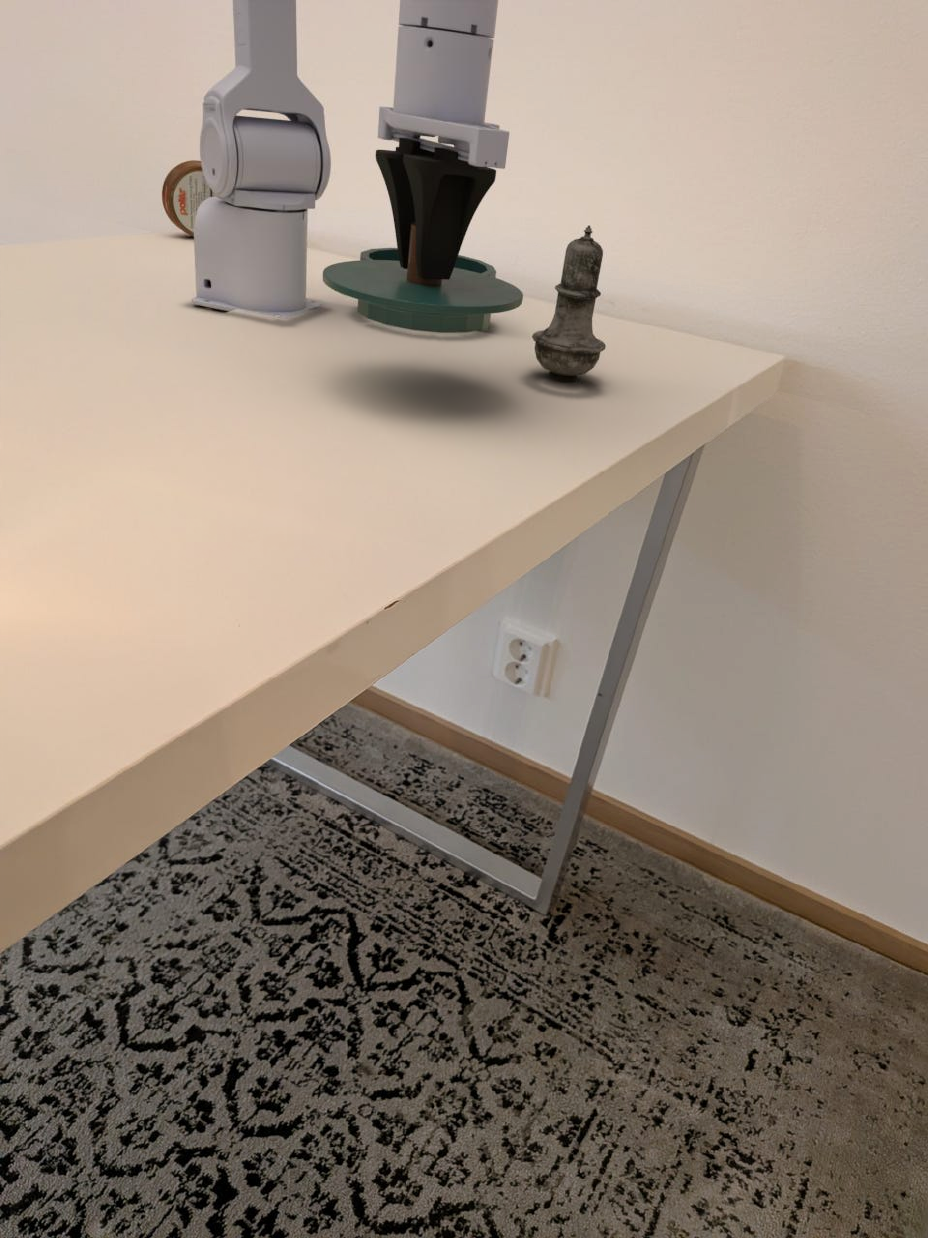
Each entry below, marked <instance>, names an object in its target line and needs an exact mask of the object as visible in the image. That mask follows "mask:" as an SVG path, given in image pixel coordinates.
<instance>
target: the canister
mask: <svg viewBox="0 0 928 1238" xmlns="http://www.w3.org/2000/svg"><path fill="white" fill-rule="evenodd" d="M359 260H391V261H399V255H398V248H397V247H378V248H370V249H367V250H363V251H361V252H360V256H359ZM454 268H458V269H463V270H468V271H473V272H477V273H481V274H485V275H488V276H491V277H495V278H497V270H496V269H495V267H494V266H493V265H491V264H489V263H488V262H484V261H483V260H481V259H476V258H472V257H468V256H466V255H465V256H464V255H461V254H458V257H457V260H456V263H455V266H454ZM357 312H358V313H359V314H360V315H362V316H364V317H365V318H366V319H369V320H371V321H375V322H377V323H380V324H383V325H387V326H390V327H391V326H392V327H397V328H402V329H407V330H411V331H420V332H429V333H430V332H431V333H441V334H445V333H446V334H447V333H448V334H449V333H469V332H480V333H487V331H488V330H489V327H490V324H491V316H492V314H479V315H472V316H433V315H423V314H414V313H408V312H402V311H396V310H392V309H387V308H383V307H379V306H376V305H373V304H370V303H367V302H365V301H362V300H359V299H357Z"/></svg>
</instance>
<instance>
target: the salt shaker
mask: <svg viewBox="0 0 928 1238" xmlns="http://www.w3.org/2000/svg"><path fill="white" fill-rule="evenodd" d="M592 230H593V229H592V227H591V225H587V226H586V227H585V229H583V232H584V235H582V236H581V237H579V238H576V239H573V240H572V241H570V242H569V243H568V244H567V247H566V248H565V254H564V261H563V266H562V271H561V279H560V283H557V284H556V285H554V290H555V291H556V292H557V296H556V303H555V310H554V314H553V317H552V319H551V321H550V324H549V326H548V327H546V328H545V329H542V330H538V331H535V332H534V333H533V334H532V335H531V338H532V340H533V341H534V348H533V349H534V354H535V357H536V360H537V362H538V363H539V365H540V366H541V367H542V368H543V369H544V370H547V371H548V378H549V379H551V380H553V381H556V382H560V383H575V382H576V381H577V380H578V376H583V375H586V374H587V373H588V372H590V371H591V370H593V369H594V368H595V366H597V363H598V362H599V360H600V356H601V353H602V352H603V351H605V350H606V347H607V346H606V344H605V342H604V341H603V340H601V339H599V338H596V336H595V334H594V330H593V317H594V311H595V306H596V299H597V298H599V297H601V295H602V294H601V293H602V292H601V291H600V290H598V284H599V278H600V273H601V268H602V263H603V258H604V250H603V247H602V246H601V244H600V243H599V242H597V241H595V239H594V238H593V237H591V236H592V235H591V234H592V233H593V231H592Z"/></svg>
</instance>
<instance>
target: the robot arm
mask: <svg viewBox="0 0 928 1238" xmlns="http://www.w3.org/2000/svg"><path fill="white" fill-rule="evenodd" d="M498 6H499V0H399V13H398V25H399V26H398V27H397V28H398V29H397V43H396V44H397V45H396V58H395V76H394V91H393V104H392V107H390V106H378V107H379V108H378V127H377V139H380V140H383V141H394V142H397V143H398V146H396V147H395V150H390V149H376V150H375V161H376V164H377V167H378V168H379V170H380V173H381V175H382V178H383V181H384V184H385V187H386V190H387V191H386V192H387V194H388V199H389V203H390V207H391V212H392V218H393V224H394V232H395V239H396V248H398V255H399V261H400V266H401V267H402V268H404V269H407V266H408V254H409V241H410V228H411V223H416V262H417V270H418V276H419V277H420V278H422V279H447V280H449V279H450V277H451V274H452V272H453V269H454V266H455V263H456V260H457V257H458V255H460V252H461V248H462V246H463V242H464V239H465V237H466V234H467V231H468V229H469V226H470V224H471V222H472V219H473V217H474V215H475V213H476V211H477V210H478V208H479V206H480V204H481V202H482V201H483V199H484V197H485V196H486V194H487V193H488V191H489V190H490V189H491V187H492V186H493V185H494V184H495V181H496V177H497V169H503V170H504V169H506V163H507V155H508V149H509V148H508V147H509V140H510V131H508V130H504V129H500V125H499V124H495V123H491V122H486V112H487V102H488V94H489V84H490V76H491V75H490V74H491V67H492V57H493V49H494V39H495V34H496V25H497V16H498V8H499V7H498ZM232 17H233V19H232V20H233V41H234V43H233V44H234V63H235V65H234V68H233V69H232V70H231V71H230V72H229V73H228V74H226V75H225V76H224V77H223V78H222V79H221V80H219V81H218V82H216V83H215V84H214V85H213V86H212V87H211V88H209V90H208V91H207V92H206V93H205V95H204V96H203V102H202V125H201V131H200V137H199V157H200V158H199V159H200V161H201V165H202V170H203V174H204V177H205V180H206V182H207V184H208V185H209V187H210V188H211V189H212V191H213V192H214V194H215V195H216V196H217V197H209V198H207V199H206V200H204V201H203V202H202V203H201V205H200V206H199V208H198V211H197V214H196V218H195V224H194V236H193V247H194V269H195V271H194V272H195V274H194V275H195V293H196V294H195V295H196V296H195V297H193V298H191V304H192V305H196V306H201V307H205V308H209V309H215V310H220V311H225V312H231V311H235V310H240V311H245V312H250V313H255V314H258V315H259V314H260V315H265V316H269V317H276V318H279V319H288V318H291V317H293V316H296V315H298V314H301V313H304V312H306V311H308V310H311V309H314V308H317V307H319V306H322V305H323V302H321V301H316V300H311V299H307V267H308V266H307V264H308V261H307V260H308V255H307V254H308V222H309V221H308V217H309V215H308V214H309V210H316V201H318V200H319V199H320V198H321V197H323V194H324V192H325V191H326V189H327V187H328V184H329V181H330V178H331V177H330V176H331V168H332V157H331V150H330V145H329V141H328V137H327V131H326V122H325V119H326V118H325V108H324V106H323V104H322V103H321V102H320V100H319V99H318V98H317V97H316V96H315V95H314V94H313V92H312V91H310V89H309V88H308V87H307V86H306V85H305V84H304V82H302V80H301V79H300V78H299V76H298V48H297V47H298V44H297V43H298V42H297V35H298V34H297V0H232ZM243 110H245V111H254V112H264V113H265V112H266V113H275V114H279V115H283V116H285V117H286V118H287V119H276V118H268V117H267V118H266V117H257V116H246V115H245V116H244V115H237V114H238V113H240V112H241V111H243ZM422 137H427V138H428V137H429V138H436V137H437V141H433V140H429V139H426V138H422ZM452 145H453V146H452Z"/></svg>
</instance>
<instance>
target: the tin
mask: <svg viewBox="0 0 928 1238" xmlns="http://www.w3.org/2000/svg"><path fill="white" fill-rule="evenodd" d="M209 197H217V196H216V195H215V194H214V192H213V191H212V189H211V188H210V187H209V185H208V184H207V182H206V180H205V177H204V174H203V170H202V165H201V160H195V159H194V160H186V161H183V162H180V163H178V164H177V165H176V166H174V167H173V168H171V170H170V171H169V172H168V173H167V175H166V177H165V178H164V181H163V184H162V189H161V200H162V206H163V209H164V213H165V214H166V216H167V218H169V220H170V221H171V223H172V224H173V225H174V226H176V228H178V229H179V230H181V231H182V232H183V233H185V234H187V235H189V236H191V237H194V224H195V218H196V214H197V211H198V208H199V206H200V205H201V203H202V202H203V201H204V200H206V199H207V198H209Z"/></svg>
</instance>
